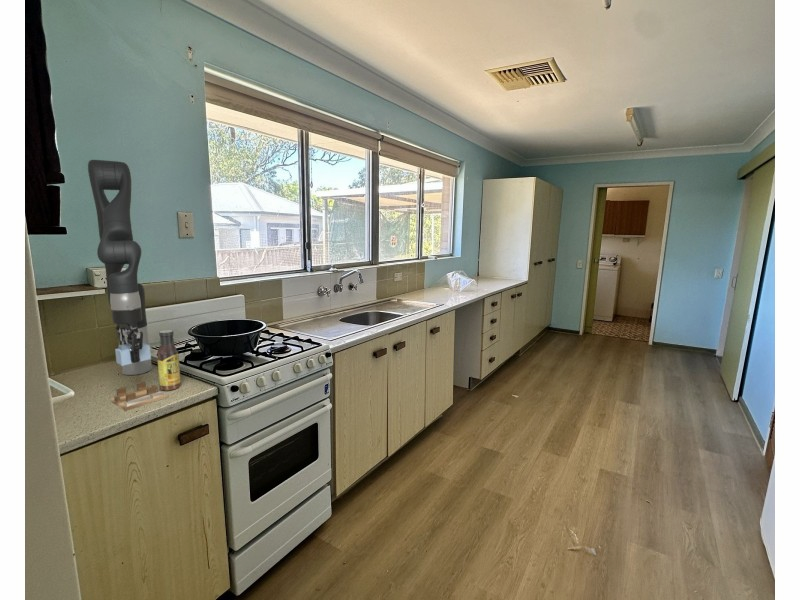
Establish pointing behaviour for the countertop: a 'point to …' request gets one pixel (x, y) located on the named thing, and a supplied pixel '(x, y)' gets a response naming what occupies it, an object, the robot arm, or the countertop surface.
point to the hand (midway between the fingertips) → (132, 360)
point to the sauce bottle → (168, 362)
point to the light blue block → (124, 354)
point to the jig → (137, 396)
